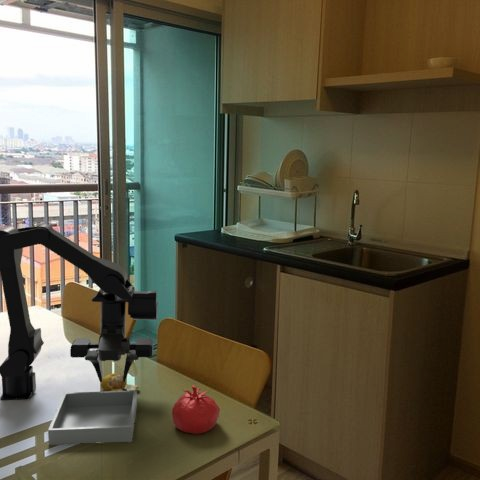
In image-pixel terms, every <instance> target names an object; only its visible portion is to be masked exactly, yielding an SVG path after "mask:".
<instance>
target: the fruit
mask: <svg viewBox="0 0 480 480" xmlns="http://www.w3.org/2000/svg"><path fill="white" fill-rule="evenodd" d="M126 380H127V379H126ZM126 380H125V382H123V374H121V373H120V372H114V373H110V374H106V375H105V376H104V377H102V382H100V383H101V384H100V386H101V389H102V392H104V391H124V390H127V391H135V390H138V389H139V388H140V386H139V384H138V385H135V384H133V385H132V384H127V382H126Z"/></svg>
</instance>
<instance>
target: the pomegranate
mask: <svg viewBox="0 0 480 480" xmlns="http://www.w3.org/2000/svg"><path fill="white" fill-rule="evenodd" d="M191 389H192V392H191V391H190V390H186V389H182V391H183V392H184V394H183V395H181V396H180V397H179V398H178V399H177V401H175V402H174V404H173V407H172V411H171V416H172V422H173V425H174V426H175V427H176V429H178V430H179V431H182V432H183V433H187V434H188V433H189V434H193V435H200V434H203V433H206V432H208V431H210V430H211V429H213V428H214V427H215V425H217V422H218V419H219V418H220V410H221V409H220V406H219V405H218V404H217V403H216V401H215V400H214V399H213V397H210V396H209V395H207V394H206V393H208V391H204V392H199V391H200V390H201V387H197V386H196V385H195V384H194V385H192V386H191Z"/></svg>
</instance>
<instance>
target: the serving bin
mask: <svg viewBox="0 0 480 480" xmlns="http://www.w3.org/2000/svg"><path fill="white" fill-rule="evenodd" d="M137 390H138V389H136V390H134V391H132V390H123V391H82V392H81V391H79V392H77V391H75V392H63V394H62V397H61V399H60V401H59V404H58V406H57V409H56V410H55V413H54V416H53V417H52V421H51V422H50V425H49V427H48V430H47V431H48V433H47V434H48V435H47V436H48V437H47V438H48V446H60V445H61V446H62V444H68V445H81V444H80V443H96V442H110V443H109V444H112V443H111V442H128V443H133V439H132V438H133V437H134V431H135V424H134V423H135V422H136V415H137V406H138V393H137V392H138V391H137ZM78 443H79V444H78Z"/></svg>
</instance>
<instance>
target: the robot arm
mask: <svg viewBox="0 0 480 480" xmlns="http://www.w3.org/2000/svg"><path fill="white" fill-rule="evenodd" d="M38 245H41V246H43V247H44V248H46V249H48V250H49V251H51V252H52V253H55V254H56V255H57V256H59V257H61V258H62V259H64V260H65V261H67V262H68V263H70V264H71V265H73V266H75V267H76V268H78V269H79V270H81V271H82V272H83V273H84V274H86V275H87V276H88V278H89V279H90V280H92V282H93V283H94V284H95V285H96V286H97V287H98V288H99V289H98V292H96V293H95V294H94V295H93V297H92V298H91V302H93V303H94V302H95V303H100V335H99V338H98V342H92V338H91V337H76V338H75V339H74V340H73V341H72V343H71V345H70V350H69V351H70V353H69V354H70V358H84V360H85V361H89V362H90V363H91V364H92V365H93V368H94V370H95V372H96V375H97V378H98V380H99V382H100V383H102V380H103V364H102V363H103V362H105V361H113V362H117V361H120V360H121V359H122V356H125V355H126V356H125V364H124V369H123V374H122V376H123V382H125V380H127V377H128V374H129V370H130V368H131V366H132V364H133V363H134V362H135V361H137V360H139V359H140V358H151V357H153V353H154V340H153V339H152V337H136V340H135V341H136V342H131V339H130V338H129V337H126V325H127V324H126V322H127V321H126V315H128V316H129V318H130V319H132V320H133V321H134V320H135V321H136V320H137V321H157V320H158V303H159V302H158V296H157V295H158V292H157V290H148V291H144V290H143V291H139V290H136V288H135V286H134V285H133V284H132V283H131V281H130V280H129V279H128V274H127V271H126V269H125V268H124V267H123V266H122V265H119V264H117V263H115V262H113V261H111V260H108V259H105V258H102V257H99V256H97V255H94V254H93V253H91V252H90V251H88V250H87V249H85V248H84V247H82V246H80V245H79V244H77V243H76V242H74V241H72V240H71V239H69V238H68V237H67V236H65V235H63V233H61V232H59V231H57V230H55V229H54V228H53V226H52V225H49V224H46V223H44V224H40V225H37V226H27V227H22V228H21V227H20V228H16V227H15V226H14V227H13V226H11V225H9V226H4V227H2V228H0V279H1V284H2V289H3V294H4V295H3V297H4V301H5V307H6V310H7V319H8V322H9V327H10V329H9V330H10V331H9V332H10V333H9V337H8V344H7V349H8V350H7V353H8V354H7V357H6V358H5V360H3V362H2V363H1V364H0V376H1V387H2V394H1V395H0V401H4V400H5V401H7V400H28V399H30V398H31V397H32V395H33V394H34V393H35V390H36V388H37V382H36V372H34V367H33V365H32V364H33V363H34V361H35V360H36V358H37V357H38V356H39V354H40V353H41V350H42V346H43V345H44V344H45V341H43V338H42V329H41V327H39V328H36V329H35V327H34V326H33V323H32V322H31V318H30V317H31V316H30V313H29V307H28V306H29V305H28V300H27V295H26V290H25V282H24V278H23V272H22V266H21V265H22V264H21V263H22V258H23V252H24V249H25V248H28V247H33V246H38ZM126 304H127V305H126ZM126 306H127V307H126ZM126 308H127V309H126ZM126 310H127V314H126Z"/></svg>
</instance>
